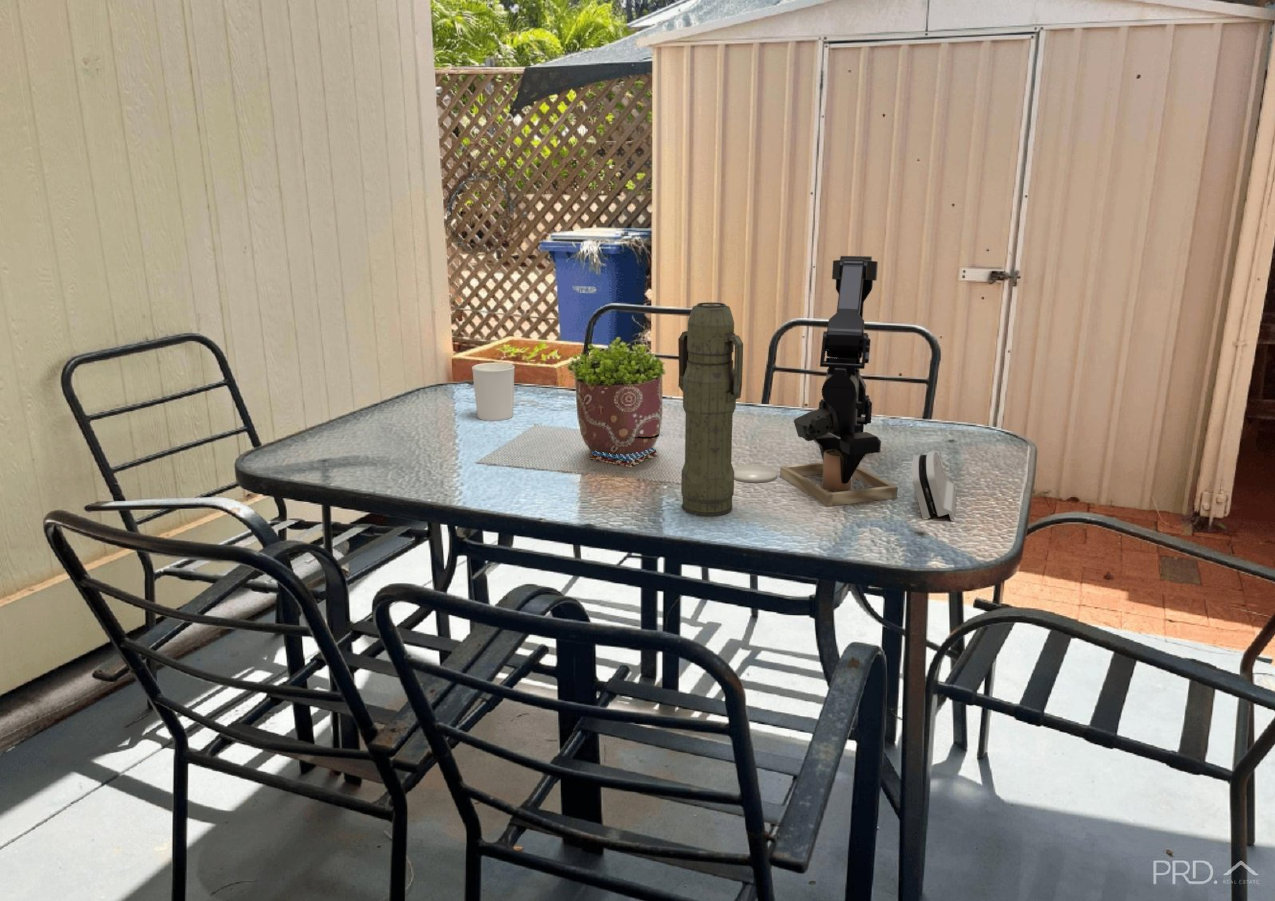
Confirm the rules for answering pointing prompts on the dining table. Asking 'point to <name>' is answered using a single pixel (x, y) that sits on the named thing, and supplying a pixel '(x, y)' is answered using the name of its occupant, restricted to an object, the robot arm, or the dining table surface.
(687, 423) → the thermos
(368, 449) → the dining table surface
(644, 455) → the woven mat
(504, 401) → the light grey cup
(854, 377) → the robot arm
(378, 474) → the dining table surface
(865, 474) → the wooden frame
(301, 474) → the dining table surface
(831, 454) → the terracotta pot
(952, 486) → the light grey slab casing
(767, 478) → the cream saucer
